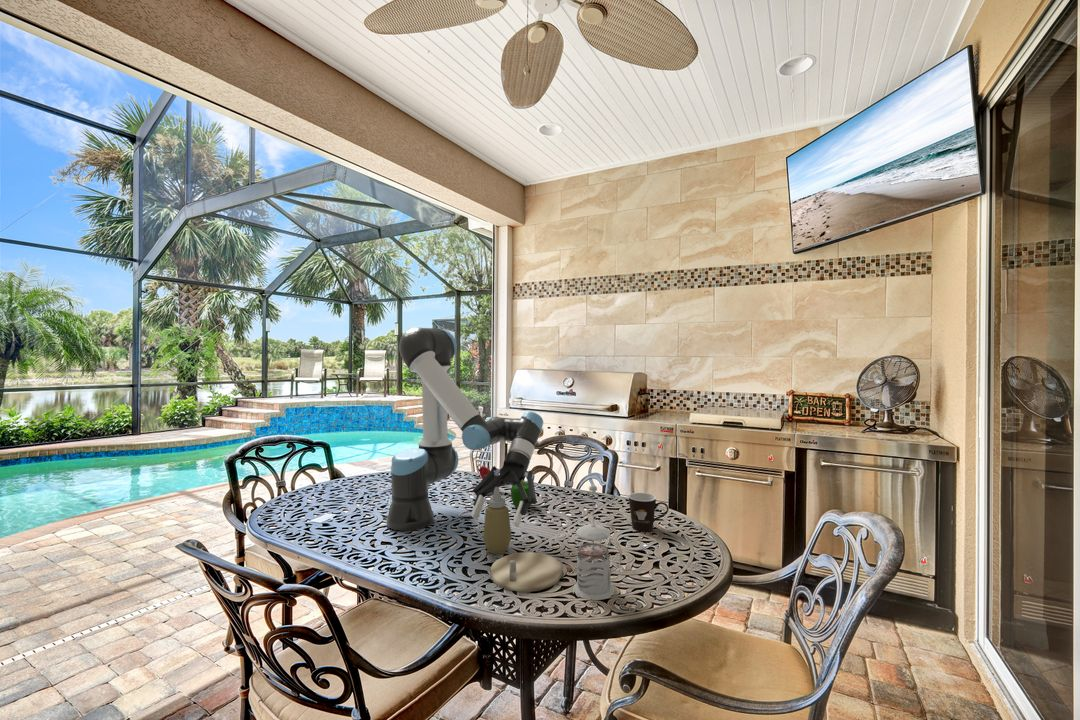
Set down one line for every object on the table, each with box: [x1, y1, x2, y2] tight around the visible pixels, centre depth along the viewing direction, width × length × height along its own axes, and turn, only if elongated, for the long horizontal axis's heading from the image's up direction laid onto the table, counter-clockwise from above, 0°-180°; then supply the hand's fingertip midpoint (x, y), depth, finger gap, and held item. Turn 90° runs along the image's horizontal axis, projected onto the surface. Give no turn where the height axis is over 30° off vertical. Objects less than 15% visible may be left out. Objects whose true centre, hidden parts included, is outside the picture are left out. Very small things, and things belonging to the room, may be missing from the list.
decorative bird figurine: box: [477, 465, 505, 488], centre depth 189 cm, size 3×18×10 cm, turn 75°
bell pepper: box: [510, 479, 532, 509], centre depth 172 cm, size 8×8×10 cm
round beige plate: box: [490, 551, 563, 593], centre depth 121 cm, size 18×18×6 cm
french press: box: [572, 484, 623, 601], centre depth 112 cm, size 10×12×25 cm
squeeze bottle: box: [482, 487, 512, 555], centre depth 135 cm, size 8×8×18 cm
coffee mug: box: [628, 492, 669, 533], centre depth 149 cm, size 12×9×10 cm
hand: (494, 521), depth 133 cm, fingers open, 13 cm apart
